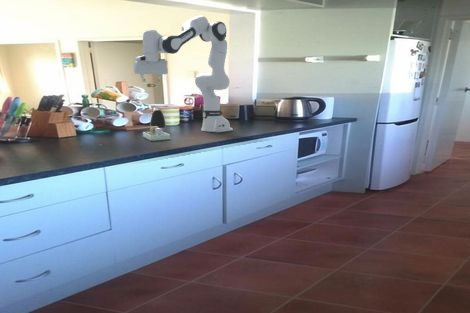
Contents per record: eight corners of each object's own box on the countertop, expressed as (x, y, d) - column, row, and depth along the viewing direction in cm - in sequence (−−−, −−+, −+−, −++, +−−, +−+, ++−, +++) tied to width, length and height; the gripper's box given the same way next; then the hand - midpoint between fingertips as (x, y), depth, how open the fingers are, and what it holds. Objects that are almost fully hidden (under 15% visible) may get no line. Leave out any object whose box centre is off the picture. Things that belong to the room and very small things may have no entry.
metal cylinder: (160, 137, 219) (160, 127, 218) (163, 138, 216) (163, 128, 215) (154, 138, 217) (154, 128, 216) (156, 139, 214) (156, 129, 213)
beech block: (156, 135, 225) (156, 126, 224) (158, 136, 222) (158, 127, 220) (150, 136, 223) (149, 126, 222) (152, 137, 220) (152, 127, 218)
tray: (161, 135, 228) (161, 130, 228) (170, 139, 217) (170, 134, 216) (142, 137, 222) (142, 132, 221) (150, 141, 211) (150, 135, 210)
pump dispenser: (167, 131, 246) (167, 108, 243) (163, 133, 236) (162, 110, 233) (153, 130, 247) (152, 108, 244) (148, 132, 237) (147, 109, 233)
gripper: (165, 59, 225) (165, 81, 228) (132, 57, 214) (133, 81, 217) (169, 58, 220) (169, 82, 223) (135, 57, 209) (136, 81, 212)
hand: (151, 81), depth 220 cm, fingers open, 8 cm apart
